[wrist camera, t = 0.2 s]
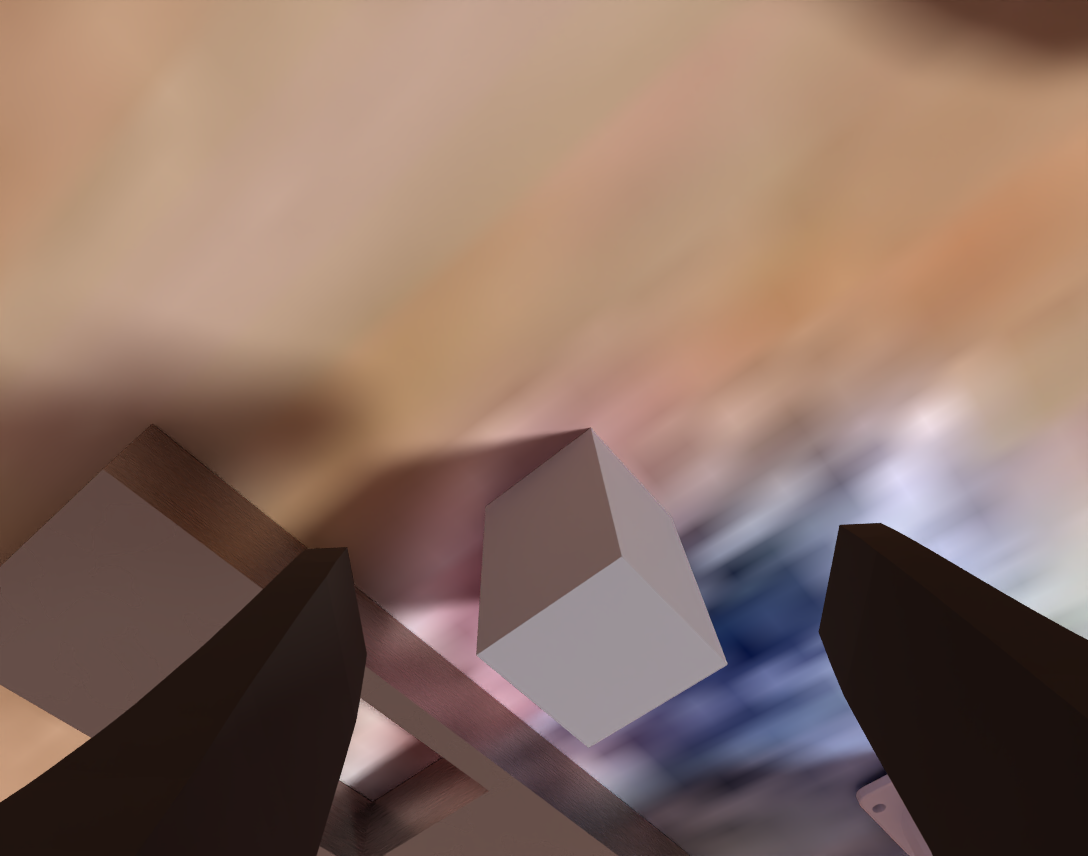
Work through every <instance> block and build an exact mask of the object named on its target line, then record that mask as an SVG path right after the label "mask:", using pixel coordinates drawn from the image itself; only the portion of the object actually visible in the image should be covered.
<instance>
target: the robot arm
mask: <svg viewBox="0 0 1088 856" xmlns="http://www.w3.org/2000/svg"><path fill="white" fill-rule="evenodd" d="M819 634H820V637H821V640H822V642H823V645H824V648H825V650H826V653H827V655H828V658H829V661H830V663H831V666H832V668H833V671H834V673H835V676H836V678H837V680H838V683H839V685H840V688H841V690H842V692H843V695H844V697H845V699H846V700H847V702H848V704H849V706H850V708H851V710H852V712H853V714H854V715H855V717H856V719H857V721H858V723H859V724H860V726H861V728H862V730H863V732H864V733H865V735H866V737H867V739H868V741H869V742H870V744H871V746H872V748H873V750H874V751H875V753H876V755H877V757H878V759H879V760H880V762H881V764H882V766H883V767H884V769H885V771H886V773H887V775H885V776H883V777H881V778H879V779H877V780H875V781H873V782H871V783H869V784H868V785H866V786H864V787H862V788H861V789H859V790H858V792H857V793H856V798H857V800H858V802H859V804H860V806H861V807H862V808H863V809H864V810H865V811H866V812H867V813H868V814H869V815H870V816H871V817H872V818H873V819H874V820H875V821H876V822H877V824H878V825H879V826H880V827H881V828H882V829H883V830H884V831H885V832H886V833H887V834H888V835H889V836H890V837H891V838H892V839H893V840H894V841H895V842H896V843H897V844H898V845H899V846H900V847H901V848H902V849H903V850H904V851H905V852H906V853H907V854H908V855H909V856H1088V640H1087V639H1085V638H1083V637H1081V636H1079V635H1077V634H1075V633H1074V632H1072V631H1070V630H1068V629H1066V628H1064V627H1063V626H1061V625H1059V624H1057V623H1055V622H1054V621H1052V620H1050V619H1048V618H1046V617H1045V616H1043V615H1041V614H1039V613H1037V612H1036V611H1034V610H1032V609H1030V608H1029V607H1027V606H1025V605H1023V604H1022V603H1020V602H1018V601H1016V600H1015V599H1013V598H1011V597H1009V596H1008V595H1006V594H1004V593H1003V592H1001V591H999V590H997V589H996V588H994V587H992V586H991V585H989V584H987V583H985V582H984V581H982V580H980V579H979V578H977V577H975V576H974V575H972V574H970V573H969V572H967V571H965V570H963V569H962V568H960V567H958V566H957V565H955V564H953V563H952V562H950V561H948V560H947V559H945V558H943V557H941V556H940V555H938V554H936V553H935V552H933V551H931V550H930V549H928V548H926V547H924V546H923V545H921V544H919V543H917V542H916V541H914V540H912V539H910V538H909V537H907V536H905V535H903V534H901V533H899V532H898V531H896V530H894V529H892V528H890V527H888V526H886V525H884V524H882V523H870V524H848V525H840V526H839V531H838V536H837V541H836V546H835V551H834V556H833V561H832V567H831V572H830V577H829V582H828V587H827V592H826V597H825V602H824V607H823V613H822V618H821V623H820V628H819ZM366 658H367V651H366V646H365V641H364V635H363V630H362V625H361V619H360V614H359V608H358V603H357V598H356V592H355V587H354V581H353V576H352V571H351V565H350V560H349V555H348V549H347V547H344V548H322V549H305V550H304V551H302V552H301V553H300V554H299V555H298V556H297V557H296V558H295V559H294V560H293V561H292V562H290V563H289V564H288V565H287V566H286V567H285V568H284V569H283V570H282V571H281V572H280V573H279V574H278V575H277V576H276V577H275V578H274V579H273V580H272V581H271V582H270V583H269V584H268V585H267V586H266V587H265V588H264V589H263V590H261V591H260V592H259V593H258V594H257V595H256V596H255V597H254V598H253V599H252V600H251V601H250V602H249V603H248V604H247V605H246V606H245V607H244V608H243V609H242V610H241V611H239V612H238V613H237V614H236V615H235V616H234V617H233V618H232V619H231V620H230V621H229V622H228V623H227V624H226V625H225V626H223V627H222V628H221V629H220V630H219V631H218V632H217V633H216V634H215V635H214V636H213V637H212V638H211V639H210V640H208V641H207V642H206V643H205V644H204V645H203V646H202V647H201V648H200V649H198V650H197V651H196V652H195V653H194V654H193V655H191V656H190V657H189V658H188V659H187V660H186V661H184V662H183V663H182V664H181V665H180V666H179V667H177V668H176V669H175V670H174V671H173V672H172V673H171V674H169V675H168V676H167V677H166V678H165V679H164V680H162V681H161V682H160V683H159V684H158V685H157V686H155V687H154V688H153V689H152V690H151V691H150V692H148V693H147V694H146V695H145V696H144V697H143V698H141V699H140V700H139V701H138V702H137V703H135V704H134V705H133V706H132V707H130V708H129V709H128V710H127V711H126V712H124V713H123V714H122V715H121V716H119V717H118V718H117V719H115V720H114V721H113V722H112V723H110V724H109V725H108V726H106V727H105V728H104V729H103V730H101V731H100V732H99V733H97V734H96V735H95V736H94V737H92V738H91V739H89V740H88V741H87V742H85V743H84V744H83V745H81V746H80V747H79V748H77V749H76V750H75V751H73V752H72V753H70V754H69V755H68V756H66V757H65V758H64V759H62V760H61V761H60V762H58V763H57V764H56V765H54V766H53V767H52V768H50V769H49V770H47V771H46V772H45V773H43V774H42V775H40V776H39V777H38V778H36V779H35V780H33V781H32V782H30V783H29V784H28V785H26V786H25V787H23V788H21V789H20V790H18V791H17V792H15V793H14V794H12V795H11V796H9V797H8V798H6V799H5V800H3V801H2V802H0V856H317V853H318V849H319V846H320V843H321V839H322V836H323V833H324V829H325V826H326V822H327V819H328V816H329V812H330V809H331V806H332V802H333V799H334V796H335V792H336V789H337V785H338V782H339V779H340V775H341V772H342V768H343V765H344V762H345V758H346V755H347V751H348V748H349V744H350V741H351V737H352V734H353V730H354V727H355V723H356V719H357V713H358V707H359V702H360V696H361V690H362V684H363V678H364V671H365V665H366Z"/></svg>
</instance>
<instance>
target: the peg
mask: <svg viewBox="0 0 1088 856" xmlns="http://www.w3.org/2000/svg"><path fill="white" fill-rule="evenodd" d="M476 655H477V656H478V657H479V658H480V659H481V660H483V661H484V662H485V663H486V664H487V665H489V666H490V667H491V668H492V669H494V670H495V671H496V672H497V673H498V674H500V675H501V676H502V677H503V678H504V679H506V680H507V681H508V682H509V683H510V684H512V685H513V686H514V687H515V688H517V689H518V690H519V691H520V692H521V693H523V694H524V695H525V696H526V697H527V698H529V699H530V700H531V701H532V702H534V703H535V704H536V705H537V706H538V707H540V708H541V709H542V710H543V711H544V712H546V713H547V714H548V715H549V716H551V717H552V718H553V719H554V720H555V721H557V722H558V723H559V724H560V725H561V726H563V727H564V728H565V729H566V730H568V731H569V732H570V733H571V734H572V735H574V736H575V737H576V738H577V739H578V740H580V741H581V742H582V743H583V744H585V745H586V746H587V747H588V748H589V747H591V746H592V745H594V744H596V743H597V742H599V741H601V740H602V739H604V738H606V737H607V736H609V735H611V734H612V733H614V732H616V731H617V730H619V729H621V728H622V727H624V726H626V725H627V724H629V723H631V722H632V721H634V720H636V719H637V718H639V717H641V716H642V715H644V714H646V713H647V712H649V711H651V710H652V709H654V708H656V707H657V706H659V705H661V704H662V703H664V702H666V701H667V700H669V699H671V698H672V697H674V696H676V695H677V694H679V693H681V692H682V691H684V690H686V689H687V688H689V687H691V686H692V685H694V684H696V683H697V682H699V681H701V680H702V679H704V678H706V677H707V676H709V675H711V674H712V673H714V672H716V671H717V670H719V669H721V668H722V667H724V666H726V665H727V661H726V659H725V656H724V654H723V651H722V648H721V646H720V643H719V640H718V638H717V635H716V633H715V630H714V627H713V625H712V622H711V619H710V617H709V614H708V612H707V609H706V606H705V604H704V601H703V599H702V596H701V593H700V591H699V588H698V585H697V583H696V580H695V578H694V575H693V572H692V570H691V567H690V564H689V562H688V559H687V557H686V554H685V551H684V549H683V546H682V543H681V541H680V538H679V536H678V533H677V530H676V528H675V525H674V523H673V520H672V517H671V516H670V515H669V514H668V513H667V511H666V510H665V509H664V508H663V507H662V506H661V505H660V504H659V503H658V501H657V500H656V499H655V498H654V497H653V496H652V495H651V494H650V493H649V492H648V490H647V489H646V488H645V487H644V486H643V485H642V484H641V483H640V482H639V480H638V479H637V478H636V477H635V476H634V475H633V474H632V473H631V472H630V471H629V469H628V468H627V467H626V466H625V465H624V464H623V463H622V462H621V461H620V459H619V458H618V457H617V456H616V455H615V454H614V453H613V452H612V451H611V450H610V448H609V447H608V446H607V445H606V444H605V443H604V442H603V441H602V440H601V438H600V437H599V436H598V435H597V434H596V433H595V432H594V431H593V430H592V429H591V428H590V429H588V430H587V431H586V432H584V433H583V434H582V435H580V436H579V437H578V438H576V439H575V440H574V441H572V442H571V443H570V444H568V445H567V446H566V447H564V448H563V449H562V450H560V451H559V452H558V453H556V454H555V455H554V456H552V457H551V458H550V459H548V460H547V461H546V462H544V463H543V464H542V465H540V466H539V467H538V468H536V469H535V470H534V471H532V472H531V473H530V474H528V475H527V476H526V477H524V478H523V479H522V480H520V481H519V482H518V483H516V484H515V485H514V486H512V487H511V488H510V489H508V490H507V491H506V492H504V493H503V494H502V495H500V496H499V497H498V498H496V499H495V500H494V501H492V502H491V503H490V504H488V505H487V506H486V507H485V521H484V537H483V554H482V570H481V587H480V603H479V620H478V636H477V652H476Z"/></svg>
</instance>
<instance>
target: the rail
mask: <svg viewBox="0 0 1088 856" xmlns="http://www.w3.org/2000/svg"><path fill="white" fill-rule="evenodd" d="M305 549H307V548H306V547H305V546H304V545H302V544H301V543H300V542H299V541H297V540H296V539H295V538H294V537H292V536H291V535H290V534H289V533H287V532H286V531H285V530H284V529H282V528H281V527H280V526H279V525H277V524H276V523H275V522H274V521H272V520H271V519H270V518H269V517H267V516H266V515H265V514H264V513H262V512H261V511H260V510H259V509H257V508H256V507H255V506H254V505H253V504H251V503H250V502H249V501H248V500H246V499H245V498H244V497H243V496H241V495H240V494H239V493H238V492H236V491H235V490H234V489H233V488H231V487H230V486H229V485H228V484H226V483H225V482H224V481H223V480H221V479H220V478H219V477H218V476H216V475H215V474H214V473H213V472H211V471H210V470H209V469H208V468H206V467H205V466H204V465H203V464H201V463H200V462H199V461H198V460H196V459H195V458H194V457H193V456H191V455H190V454H189V453H188V452H186V451H185V450H184V449H183V448H181V447H180V446H179V445H178V444H176V443H175V442H174V441H173V440H171V439H170V438H169V437H168V436H166V435H165V434H164V433H163V432H162V431H160V430H159V429H158V428H157V427H155V426H154V425H153V424H152V425H151V426H150V427H148V428H147V429H146V430H145V431H144V432H143V433H142V434H141V435H140V436H139V437H138V438H136V439H135V440H134V441H133V442H132V443H131V444H130V445H129V446H128V447H127V448H126V449H124V450H123V451H122V452H121V453H120V454H119V455H118V456H117V457H116V458H115V459H114V460H112V461H111V462H110V463H109V464H108V465H107V466H106V467H105V468H104V469H103V470H102V471H101V472H99V473H98V474H97V475H96V476H95V477H94V478H93V479H92V480H91V481H90V482H89V483H88V484H87V485H86V486H85V487H84V488H83V489H82V490H80V491H79V492H78V493H77V494H76V495H75V496H74V497H73V498H72V499H71V500H70V501H69V502H68V503H67V504H66V505H65V506H64V507H63V508H61V509H60V510H59V511H58V512H57V513H56V514H55V515H54V516H53V517H52V518H51V519H50V520H49V521H48V522H47V523H46V524H45V525H44V526H42V527H41V528H40V529H39V530H38V531H37V532H36V533H35V534H34V535H33V536H32V537H31V538H30V539H29V540H28V541H27V542H26V543H25V544H23V545H22V546H21V547H20V548H19V549H18V550H17V551H16V552H15V553H14V554H13V555H12V556H11V557H10V558H9V559H8V560H7V561H6V562H5V563H3V564H2V565H1V566H0V685H2V686H3V687H5V688H7V689H9V690H10V691H12V692H14V693H15V694H17V695H19V696H21V697H22V698H24V699H26V700H27V701H29V702H31V703H33V704H34V705H36V706H38V707H39V708H41V709H43V710H45V711H46V712H48V713H50V714H52V715H53V716H55V717H57V718H58V719H60V720H62V721H64V722H65V723H67V724H69V725H70V726H72V727H74V728H76V729H77V730H79V731H81V732H82V733H84V734H86V735H88V736H89V737H91V738H92V737H94V736H95V735H96V734H97V733H99V732H100V731H101V730H103V729H104V728H105V727H106V726H108V725H109V724H110V723H112V722H113V721H114V720H115V719H117V718H118V717H119V716H121V715H122V714H123V713H124V712H126V711H127V710H128V709H129V708H130V707H132V706H133V705H134V704H135V703H137V702H138V701H139V700H140V699H141V698H143V697H144V696H145V695H146V694H147V693H148V692H150V691H151V690H152V689H153V688H154V687H155V686H157V685H158V684H159V683H160V682H161V681H162V680H164V679H165V678H166V677H167V676H168V675H169V674H171V673H172V672H173V671H174V670H175V669H176V668H177V667H179V666H180V665H181V664H182V663H183V662H184V661H186V660H187V659H188V658H189V657H190V656H191V655H193V654H194V653H195V652H196V651H197V650H198V649H200V648H201V647H202V646H203V645H204V644H205V643H206V642H207V641H208V640H210V639H211V638H212V637H213V636H214V635H215V634H216V633H217V632H218V631H219V630H220V629H221V628H222V627H223V626H225V625H226V624H227V623H228V622H229V621H230V620H231V619H232V618H233V617H234V616H235V615H236V614H237V613H238V612H239V611H241V610H242V609H243V608H244V607H245V606H246V605H247V604H248V603H249V602H250V601H251V600H252V599H253V598H254V597H255V596H256V595H257V594H258V593H259V592H260V591H261V590H263V589H264V588H265V587H266V586H267V585H268V584H269V583H270V582H271V581H272V580H273V579H274V578H275V577H276V576H277V575H278V574H279V573H280V572H281V571H282V570H283V569H284V568H285V567H286V566H287V565H288V564H289V563H290V562H292V561H293V560H294V559H295V558H296V557H297V556H298V555H299V554H300V553H301V552H302V551H304V550H305ZM354 587H355V586H354ZM355 592H356V598H357V603H358V608H359V614H360V619H361V625H362V630H363V635H364V641H365V646H366V651H367V658H366V665H365V671H364V678H363V684H362V690H361V696H360V698H362V699H363V700H365V701H366V702H367V703H369V704H370V705H372V706H373V707H374V708H376V709H377V710H378V711H380V712H381V713H383V714H384V715H385V716H387V717H388V718H389V719H391V720H392V721H394V722H395V723H396V724H398V725H399V726H400V727H402V728H403V729H405V730H406V731H407V732H409V733H410V734H412V735H413V736H414V737H416V738H417V739H418V740H420V741H421V742H423V743H424V744H425V745H427V746H428V747H429V748H431V749H432V750H434V751H435V752H436V753H438V754H439V755H440V756H442V757H443V758H441V759H440V760H438V761H437V762H435V763H434V764H432V765H430V766H429V767H427V768H426V769H424V770H423V771H421V772H419V773H418V774H416V775H415V776H413V777H412V778H410V779H409V780H407V781H405V782H404V783H402V784H401V785H399V786H398V787H396V788H395V789H393V790H391V791H390V792H388V793H387V794H385V795H384V796H382V797H380V798H379V799H377V800H376V801H374V802H371V801H370V800H368V799H367V798H365V797H364V796H362V795H360V794H359V793H357V792H356V791H354V790H353V789H351V788H350V787H348V786H347V785H345V784H344V783H342V782H341V781H339V782H338V785H337V789H336V792H335V796H334V799H333V802H332V806H331V809H330V812H329V816H328V819H327V822H326V826H325V829H324V833H323V836H322V839H321V843H320V846H319V849H318V853H317V856H690V855H689V854H688V853H686V852H685V851H684V850H683V849H681V848H680V847H679V846H678V845H676V844H675V843H674V842H673V841H671V840H670V839H669V838H668V837H666V836H665V835H664V834H663V833H661V832H660V831H659V830H658V829H656V828H655V827H654V826H653V825H651V824H650V823H649V822H648V821H646V820H645V819H644V818H643V817H641V816H640V815H639V814H638V813H636V812H635V811H634V810H633V809H631V808H630V807H629V806H628V805H627V804H625V803H624V802H623V801H622V800H620V799H619V798H618V797H617V796H615V795H614V794H613V793H612V792H610V791H609V790H608V789H607V788H605V787H604V786H603V785H602V784H600V783H599V782H598V781H597V780H595V779H594V778H593V777H592V776H590V775H589V774H588V773H587V772H585V771H584V770H583V769H582V768H580V767H579V766H578V765H577V764H575V763H574V762H573V761H572V760H570V759H569V758H568V757H567V756H565V755H564V754H563V753H562V752H560V751H559V750H558V749H557V748H555V747H554V746H553V745H552V744H550V743H549V742H548V741H547V740H545V739H544V738H543V737H542V736H540V735H539V734H538V733H537V732H535V731H534V730H533V729H532V728H531V727H529V726H528V725H527V724H526V723H524V722H523V721H522V720H521V719H519V718H518V717H517V716H516V715H514V714H513V713H512V712H511V711H509V710H508V709H507V708H506V707H504V706H503V705H502V704H501V703H499V702H498V701H497V700H496V699H494V698H493V697H492V696H491V695H489V694H488V693H487V692H486V691H484V690H483V689H482V688H481V687H479V686H478V685H477V684H476V683H474V682H473V681H472V680H471V679H469V678H468V677H467V676H466V675H464V674H463V673H462V672H461V671H459V670H458V669H457V668H456V667H454V666H453V665H452V664H451V663H449V662H448V661H447V660H446V659H444V658H443V657H442V656H441V655H440V654H438V653H437V652H436V651H435V650H433V649H432V648H431V647H430V646H428V645H427V644H426V643H425V642H423V641H422V640H421V639H420V638H418V637H417V636H416V635H415V634H413V633H412V632H411V631H410V630H408V629H407V628H406V627H405V626H403V625H402V624H401V623H400V622H398V621H397V620H396V619H395V618H393V617H392V616H391V615H390V614H388V613H387V612H386V611H385V610H383V609H382V608H381V607H380V606H378V605H377V604H376V603H375V602H373V601H372V600H371V599H370V598H368V597H367V596H366V595H365V594H363V593H362V592H361V591H360V590H358V589H357V588H356V587H355Z"/></svg>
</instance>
